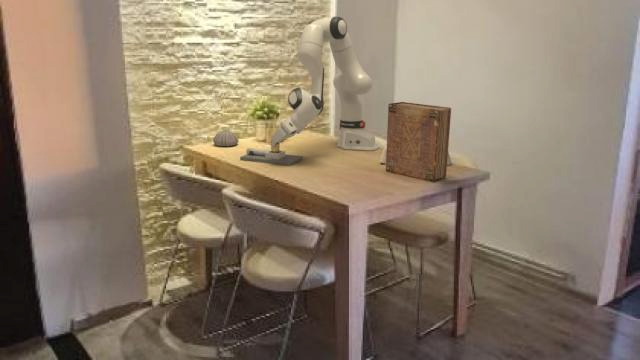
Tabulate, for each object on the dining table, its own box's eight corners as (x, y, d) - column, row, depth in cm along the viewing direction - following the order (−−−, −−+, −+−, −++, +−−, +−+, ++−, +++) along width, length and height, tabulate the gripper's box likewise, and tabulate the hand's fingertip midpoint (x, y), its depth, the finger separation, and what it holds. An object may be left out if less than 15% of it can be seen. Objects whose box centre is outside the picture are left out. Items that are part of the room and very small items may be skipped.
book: (446, 178, 233) (451, 107, 225) (434, 182, 227) (439, 109, 219) (397, 167, 250) (401, 101, 242) (385, 171, 244) (388, 103, 236)
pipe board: (302, 159, 264) (302, 150, 262) (290, 165, 251) (290, 155, 250) (254, 154, 273) (254, 145, 272) (240, 159, 260) (240, 150, 259)
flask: (441, 161, 263) (443, 141, 260) (454, 164, 258) (456, 143, 255) (432, 164, 258) (434, 143, 255) (445, 166, 253) (447, 145, 250)
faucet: (406, 169, 266) (412, 150, 266) (383, 163, 254) (389, 142, 254) (400, 168, 269) (406, 148, 269) (377, 161, 257) (382, 141, 257)
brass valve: (281, 156, 262) (281, 139, 260) (277, 158, 258) (277, 141, 256) (273, 155, 263) (273, 139, 261) (269, 157, 260) (269, 140, 258)
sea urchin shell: (208, 145, 292) (207, 130, 290) (228, 141, 302) (227, 127, 300) (224, 149, 284) (224, 133, 282) (244, 145, 294) (243, 130, 292)
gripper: (299, 116, 263) (281, 134, 269) (280, 122, 244) (261, 142, 250) (308, 126, 262) (289, 144, 268) (289, 133, 244) (270, 152, 250)
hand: (275, 143), depth 259 cm, fingers open, 8 cm apart
